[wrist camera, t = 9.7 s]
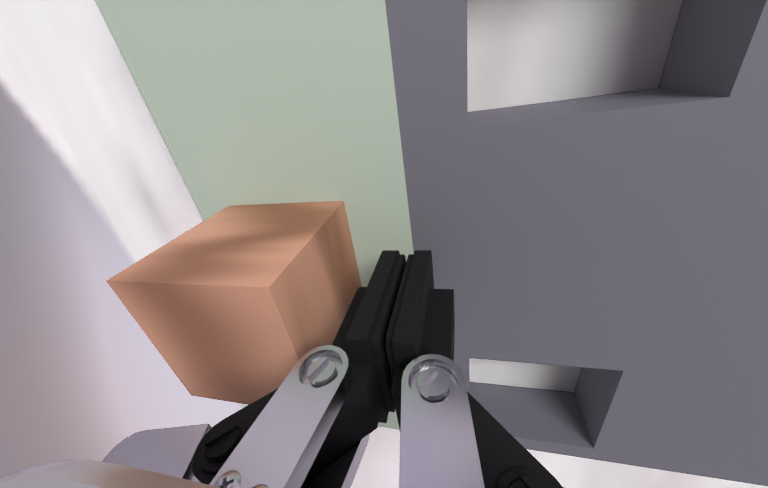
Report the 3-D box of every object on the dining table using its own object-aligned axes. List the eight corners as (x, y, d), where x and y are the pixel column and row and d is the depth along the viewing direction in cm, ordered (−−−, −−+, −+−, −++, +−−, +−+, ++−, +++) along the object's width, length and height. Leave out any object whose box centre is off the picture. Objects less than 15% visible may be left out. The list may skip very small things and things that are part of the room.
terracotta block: (343, 200, 11) (268, 287, 7) (366, 304, 13) (321, 416, 9) (229, 205, 12) (106, 280, 8) (268, 299, 14) (191, 394, 10)
